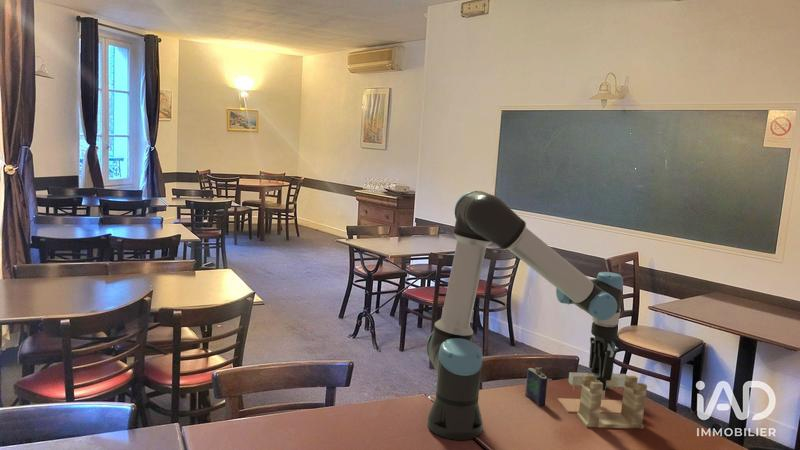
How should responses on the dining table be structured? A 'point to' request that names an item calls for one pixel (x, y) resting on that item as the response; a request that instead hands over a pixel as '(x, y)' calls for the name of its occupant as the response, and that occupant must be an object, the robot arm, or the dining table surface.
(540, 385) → the flask
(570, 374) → the rail
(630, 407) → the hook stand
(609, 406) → the mat
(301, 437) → the dining table surface
